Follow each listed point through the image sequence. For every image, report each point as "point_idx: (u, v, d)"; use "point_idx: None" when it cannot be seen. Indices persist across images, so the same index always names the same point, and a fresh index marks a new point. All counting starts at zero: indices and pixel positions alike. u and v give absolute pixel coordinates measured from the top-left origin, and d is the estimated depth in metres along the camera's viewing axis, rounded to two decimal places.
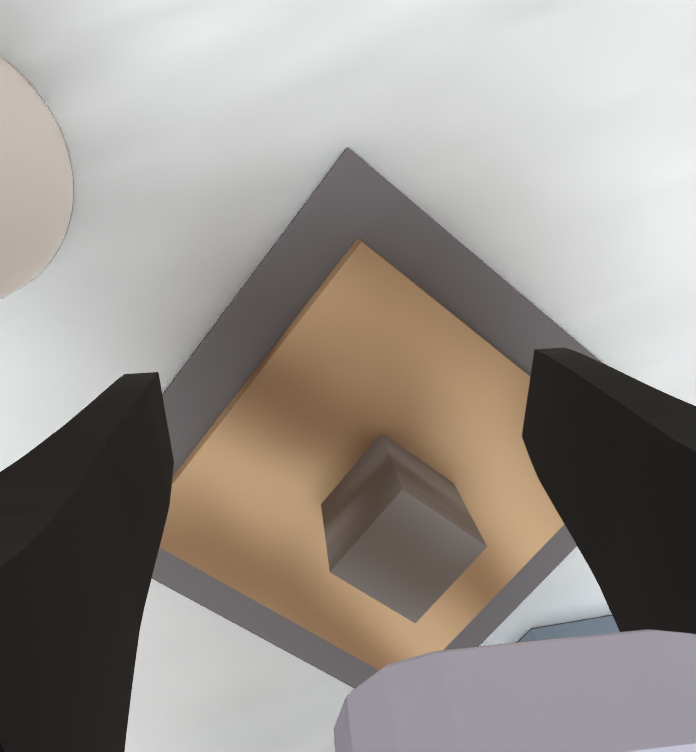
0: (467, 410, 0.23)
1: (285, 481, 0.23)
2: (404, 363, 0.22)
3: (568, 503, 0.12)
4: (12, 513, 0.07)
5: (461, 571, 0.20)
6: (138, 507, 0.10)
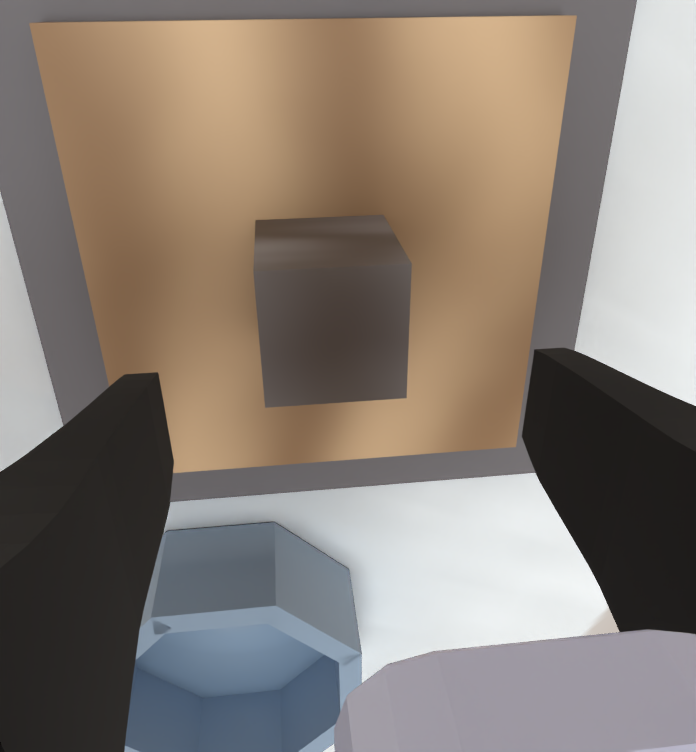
0: (465, 277, 0.19)
1: (250, 159, 0.17)
2: (473, 174, 0.18)
3: (568, 502, 0.12)
4: (12, 513, 0.07)
5: (361, 398, 0.16)
6: (138, 507, 0.10)
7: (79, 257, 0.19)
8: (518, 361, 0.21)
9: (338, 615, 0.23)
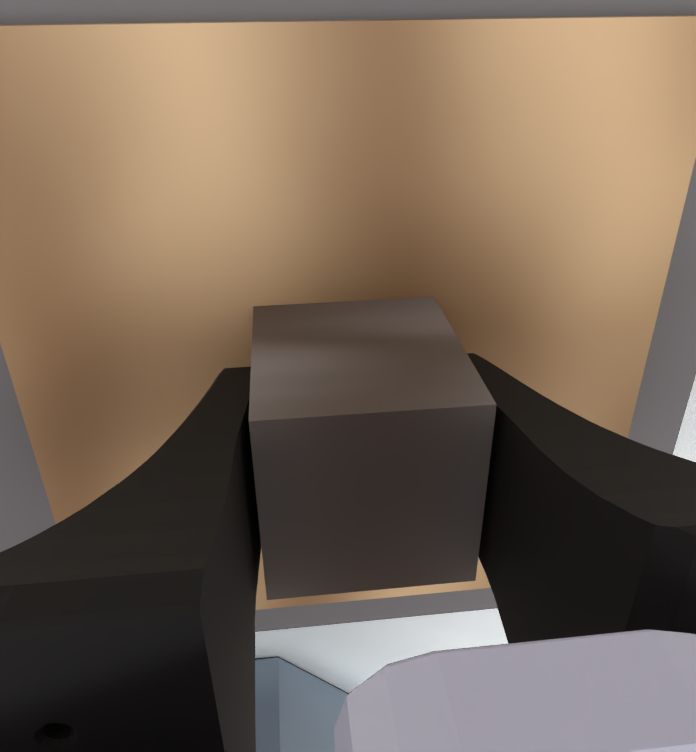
0: (542, 375, 0.14)
1: (246, 224, 0.12)
2: (563, 240, 0.12)
3: None
4: (180, 500, 0.07)
5: (409, 584, 0.11)
6: (252, 498, 0.10)
7: None
8: None
9: None
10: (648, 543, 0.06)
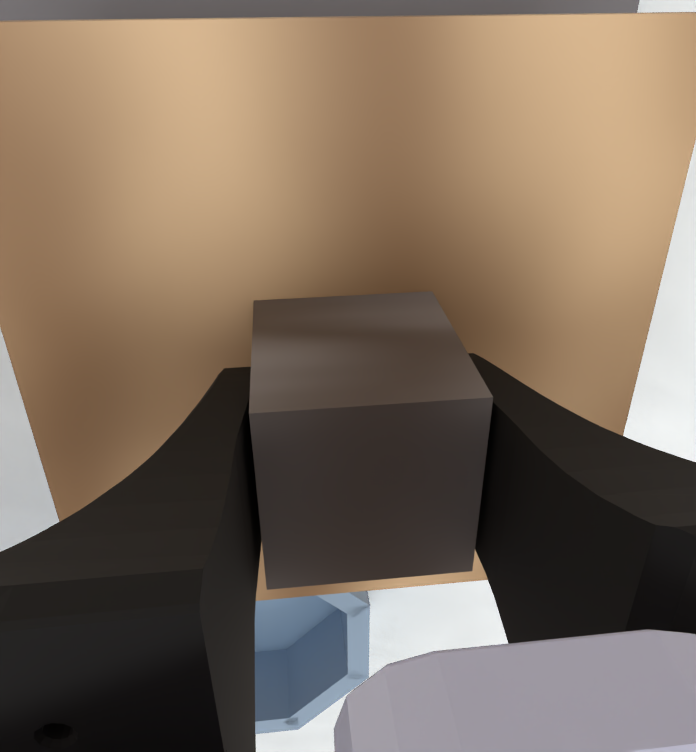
0: (539, 369, 0.14)
1: (246, 218, 0.12)
2: (560, 236, 0.13)
3: None
4: (179, 500, 0.07)
5: (406, 574, 0.11)
6: (252, 498, 0.10)
7: None
8: None
9: None
10: (648, 543, 0.06)
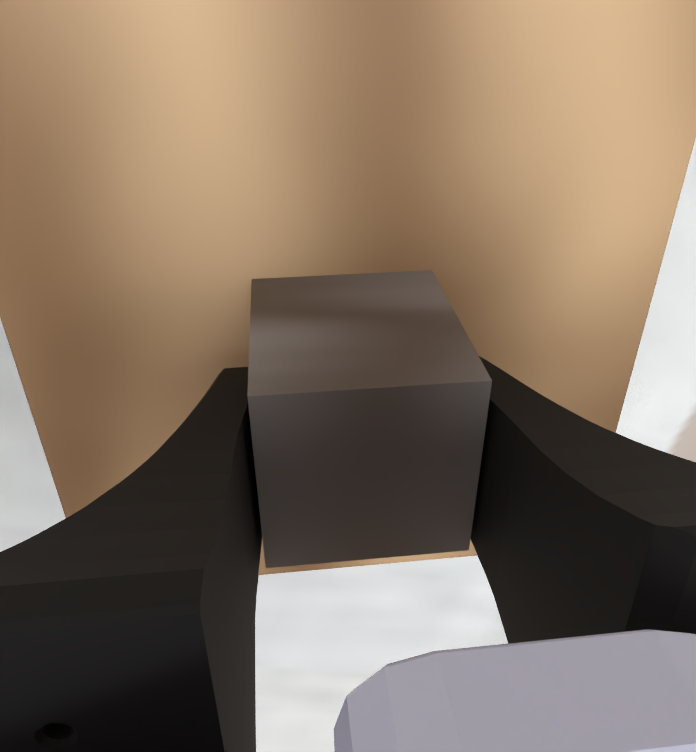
0: (538, 348, 0.14)
1: (244, 195, 0.12)
2: (562, 214, 0.12)
3: None
4: (180, 500, 0.07)
5: (404, 553, 0.11)
6: (252, 498, 0.10)
7: None
8: None
9: None
10: (648, 543, 0.06)
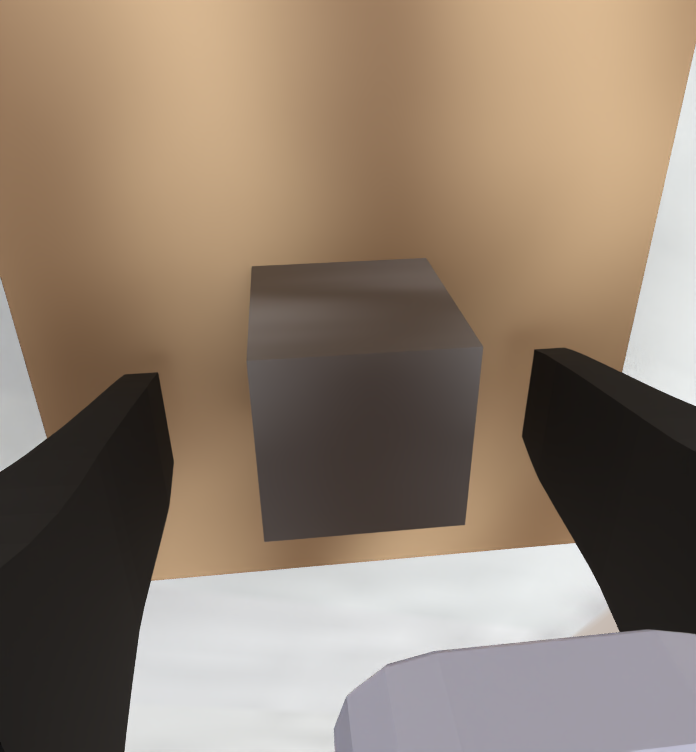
0: (532, 337, 0.14)
1: (244, 184, 0.12)
2: (550, 203, 0.13)
3: (568, 503, 0.12)
4: (12, 513, 0.07)
5: (401, 527, 0.11)
6: (138, 507, 0.10)
7: None
8: None
9: None
10: None
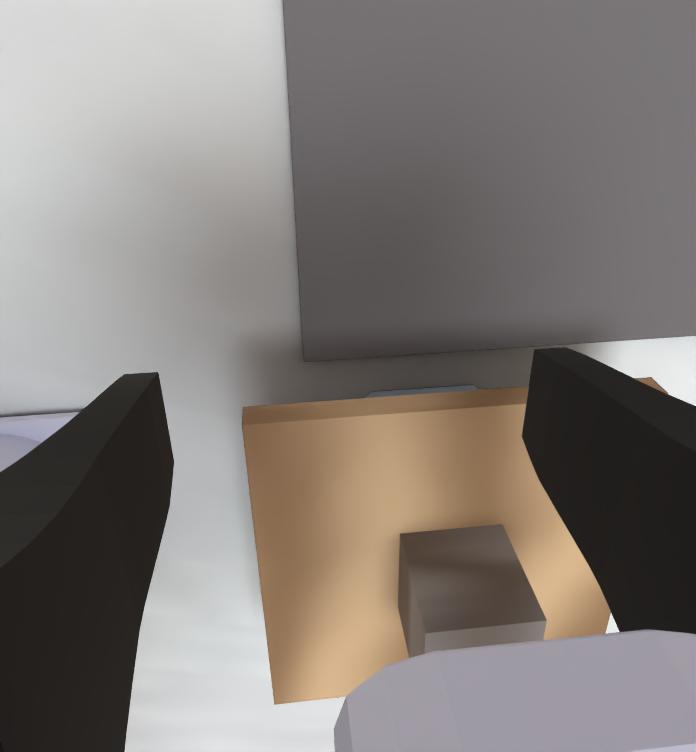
0: (564, 559, 0.23)
1: (401, 496, 0.21)
2: None
3: (568, 503, 0.12)
4: (12, 513, 0.07)
5: None
6: (138, 507, 0.10)
7: (344, 82, 0.19)
8: (603, 611, 0.25)
9: None
10: None
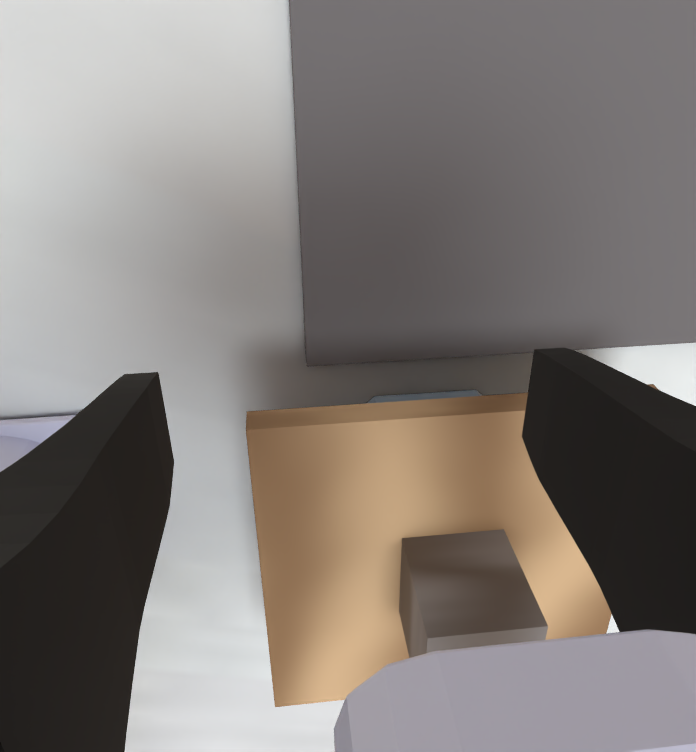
0: (565, 564, 0.23)
1: (403, 501, 0.21)
2: None
3: (568, 503, 0.12)
4: (12, 513, 0.07)
5: None
6: (138, 507, 0.10)
7: (350, 89, 0.19)
8: (603, 616, 0.25)
9: None
10: None
